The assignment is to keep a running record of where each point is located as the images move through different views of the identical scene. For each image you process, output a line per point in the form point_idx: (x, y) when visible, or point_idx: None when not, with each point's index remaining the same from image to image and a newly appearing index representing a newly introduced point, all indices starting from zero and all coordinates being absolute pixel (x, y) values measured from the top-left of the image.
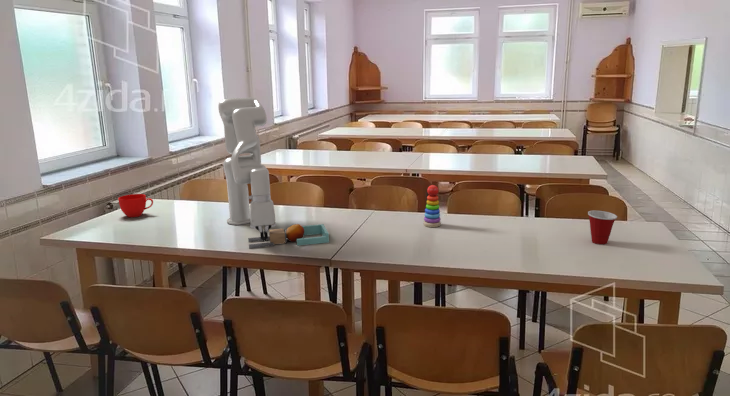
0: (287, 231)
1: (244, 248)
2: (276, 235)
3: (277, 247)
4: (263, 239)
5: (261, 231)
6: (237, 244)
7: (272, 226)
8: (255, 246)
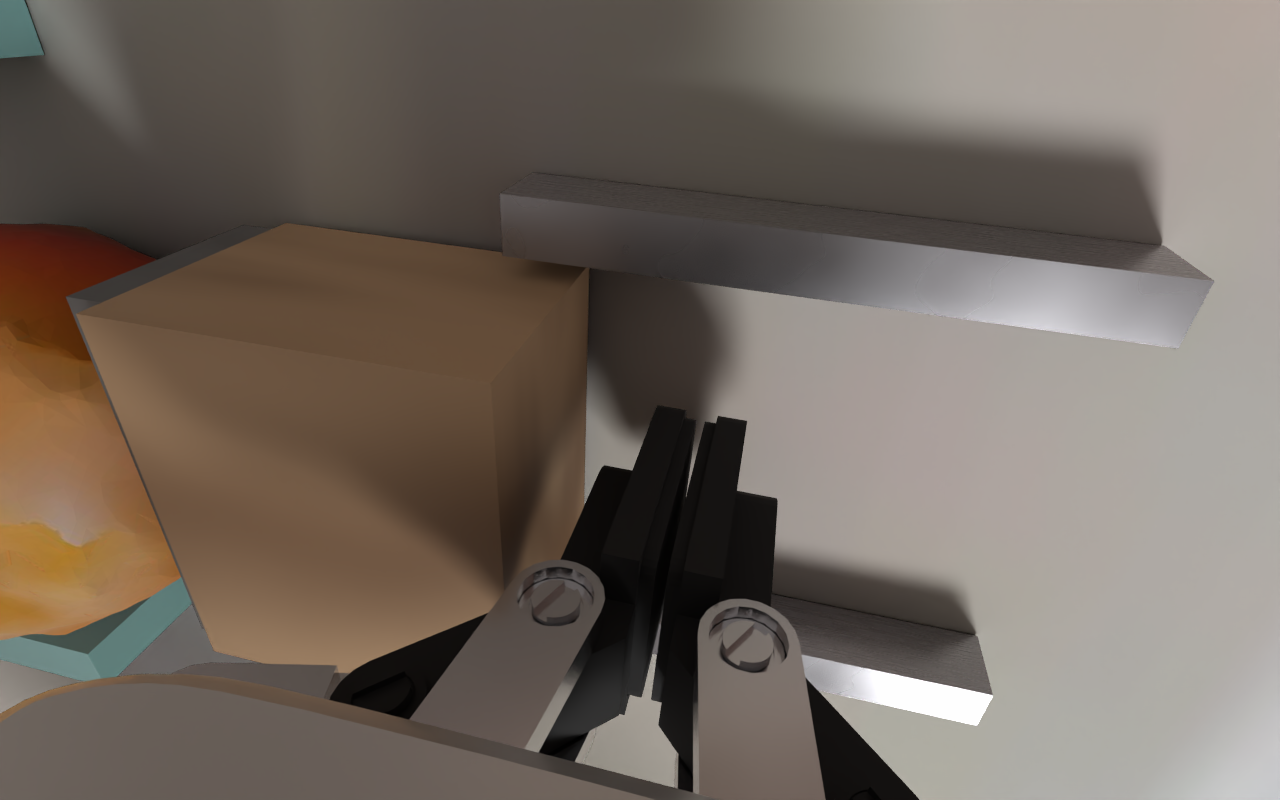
0: (52, 422)
1: (1272, 308)
2: (334, 330)
3: (451, 24)
4: (718, 436)
5: (727, 630)
6: (1253, 624)
7: (312, 680)
8: (992, 234)
